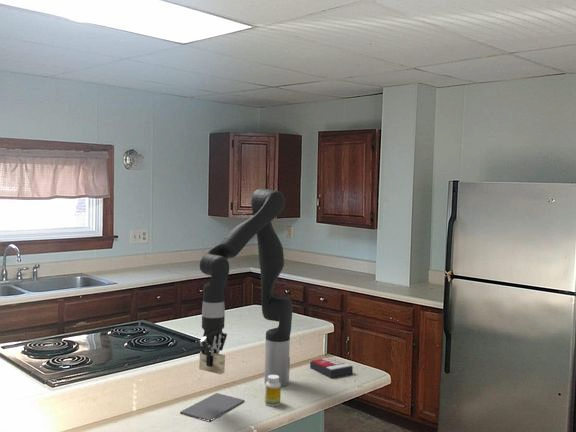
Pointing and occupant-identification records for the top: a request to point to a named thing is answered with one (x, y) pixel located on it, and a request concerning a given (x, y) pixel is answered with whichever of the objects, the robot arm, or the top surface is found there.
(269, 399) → the supplement bottle
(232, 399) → the mat
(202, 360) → the wooden block
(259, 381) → the top surface
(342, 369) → the red and black box
